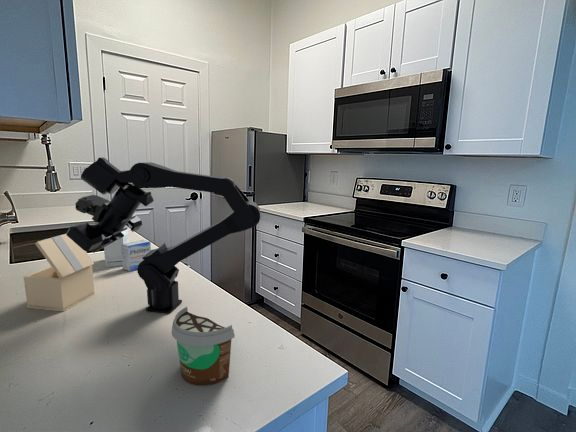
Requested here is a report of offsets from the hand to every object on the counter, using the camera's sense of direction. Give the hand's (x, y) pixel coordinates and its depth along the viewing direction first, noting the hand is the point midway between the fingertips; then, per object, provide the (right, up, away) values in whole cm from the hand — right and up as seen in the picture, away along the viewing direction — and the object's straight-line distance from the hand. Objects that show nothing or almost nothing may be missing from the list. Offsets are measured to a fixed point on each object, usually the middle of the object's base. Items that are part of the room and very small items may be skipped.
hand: (92, 251), depth 81 cm
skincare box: (-11, -8, +33) cm, 36 cm away
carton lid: (-7, -1, -1) cm, 7 cm away
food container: (+33, -19, -25) cm, 46 cm away
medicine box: (-2, -9, +28) cm, 29 cm away
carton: (-9, -13, +2) cm, 16 cm away
